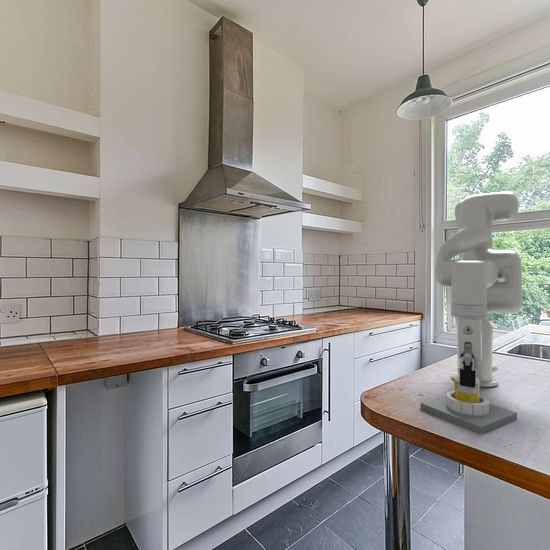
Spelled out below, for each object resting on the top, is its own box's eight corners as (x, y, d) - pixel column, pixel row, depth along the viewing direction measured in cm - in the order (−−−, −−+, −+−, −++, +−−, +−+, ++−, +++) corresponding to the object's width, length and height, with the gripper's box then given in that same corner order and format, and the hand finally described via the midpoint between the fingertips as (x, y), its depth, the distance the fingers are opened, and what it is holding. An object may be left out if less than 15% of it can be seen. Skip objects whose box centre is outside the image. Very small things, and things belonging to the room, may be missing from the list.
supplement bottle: (473, 413, 78) (474, 373, 78) (450, 406, 83) (450, 367, 82) (483, 407, 82) (483, 369, 81) (460, 400, 86) (460, 363, 86)
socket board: (455, 397, 92) (456, 383, 92) (516, 418, 79) (517, 402, 79) (420, 408, 85) (420, 392, 85) (481, 434, 72) (481, 415, 72)
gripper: (488, 317, 72) (487, 395, 73) (485, 307, 87) (484, 372, 88) (449, 314, 76) (448, 388, 77) (452, 305, 91) (452, 367, 92)
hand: (467, 379), depth 82 cm, fingers open, 9 cm apart
